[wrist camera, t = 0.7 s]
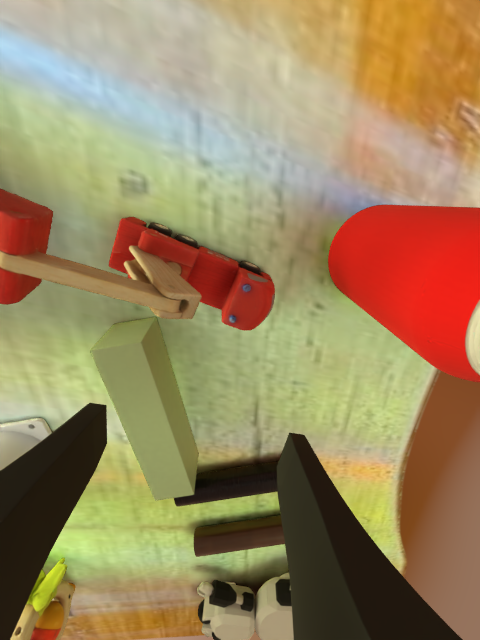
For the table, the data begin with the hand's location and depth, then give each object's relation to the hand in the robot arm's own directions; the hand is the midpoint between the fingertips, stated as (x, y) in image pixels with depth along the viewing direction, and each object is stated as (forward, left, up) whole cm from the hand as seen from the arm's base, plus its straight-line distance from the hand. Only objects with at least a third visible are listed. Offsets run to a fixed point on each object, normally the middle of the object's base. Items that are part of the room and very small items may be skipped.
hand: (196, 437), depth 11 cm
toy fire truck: (-1, +5, -11) cm, 12 cm away
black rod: (0, -16, -11) cm, 19 cm away
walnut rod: (0, -24, -11) cm, 26 cm away
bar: (-5, -6, -11) cm, 13 cm away
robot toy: (-1, -37, -11) cm, 38 cm away
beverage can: (+12, +3, -11) cm, 16 cm away
